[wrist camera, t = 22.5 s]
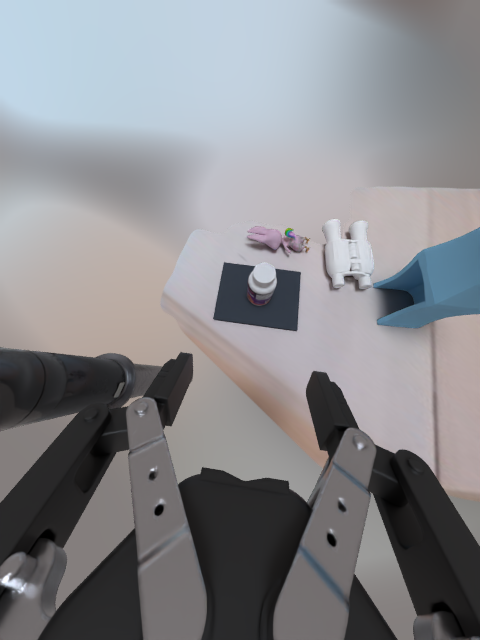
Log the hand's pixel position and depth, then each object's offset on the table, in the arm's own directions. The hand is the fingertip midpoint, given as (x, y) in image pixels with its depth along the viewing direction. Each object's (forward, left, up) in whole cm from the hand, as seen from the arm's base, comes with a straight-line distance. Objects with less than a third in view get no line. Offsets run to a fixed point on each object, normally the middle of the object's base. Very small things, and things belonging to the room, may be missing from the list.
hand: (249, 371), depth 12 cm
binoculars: (+20, +29, -26) cm, 44 cm away
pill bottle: (+1, +17, -26) cm, 31 cm away
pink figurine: (+4, +31, -26) cm, 41 cm away
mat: (+1, +17, -26) cm, 31 cm away
